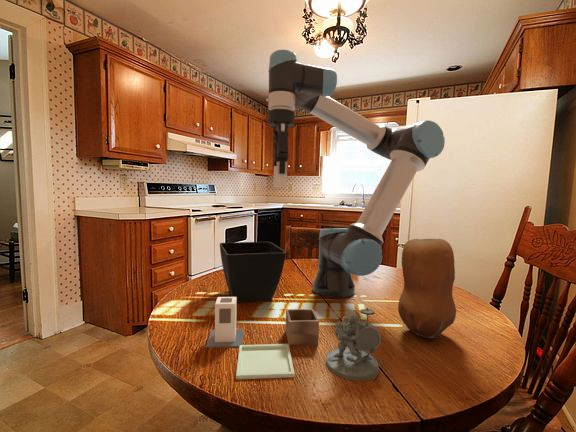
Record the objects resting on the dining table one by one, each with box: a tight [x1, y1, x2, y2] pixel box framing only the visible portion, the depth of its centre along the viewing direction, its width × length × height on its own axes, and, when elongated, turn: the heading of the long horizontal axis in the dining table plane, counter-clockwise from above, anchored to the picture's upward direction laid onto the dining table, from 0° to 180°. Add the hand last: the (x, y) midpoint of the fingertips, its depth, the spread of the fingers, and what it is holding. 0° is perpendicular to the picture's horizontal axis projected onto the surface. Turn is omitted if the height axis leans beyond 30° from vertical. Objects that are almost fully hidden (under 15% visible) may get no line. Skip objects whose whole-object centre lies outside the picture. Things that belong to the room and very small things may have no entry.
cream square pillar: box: [214, 296, 238, 342], centre depth 69 cm, size 5×5×9 cm
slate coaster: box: [205, 328, 245, 349], centre depth 70 cm, size 8×8×1 cm
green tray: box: [235, 343, 295, 380], centre depth 61 cm, size 11×11×1 cm
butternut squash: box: [397, 238, 457, 339], centre depth 74 cm, size 14×13×25 cm
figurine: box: [325, 307, 382, 382], centre depth 60 cm, size 11×11×12 cm
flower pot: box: [219, 241, 287, 304], centre depth 99 cm, size 19×19×17 cm
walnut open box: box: [284, 308, 320, 347], centre depth 71 cm, size 7×7×6 cm
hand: (279, 187), depth 84 cm, fingers open, 13 cm apart
